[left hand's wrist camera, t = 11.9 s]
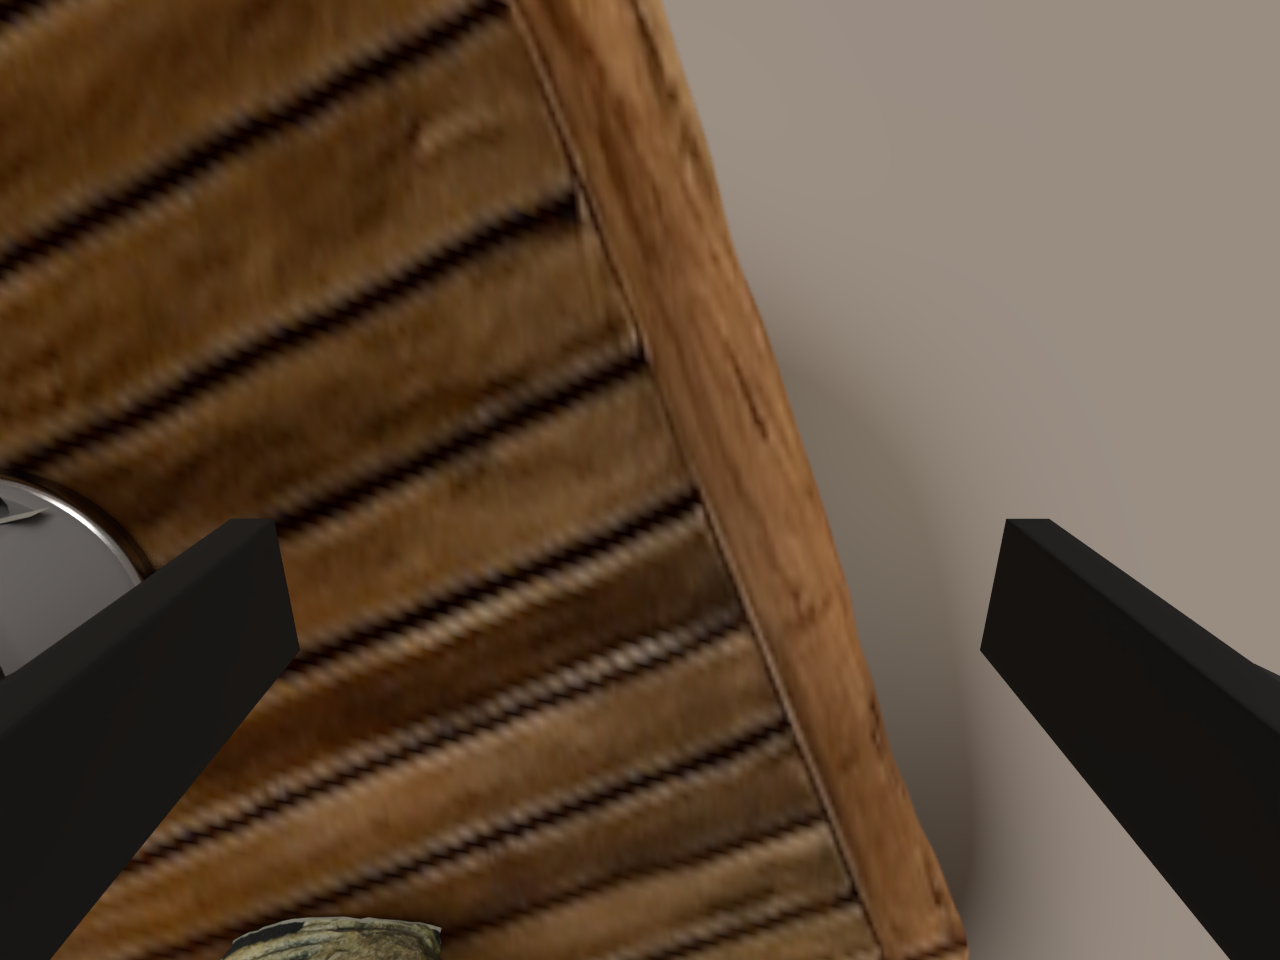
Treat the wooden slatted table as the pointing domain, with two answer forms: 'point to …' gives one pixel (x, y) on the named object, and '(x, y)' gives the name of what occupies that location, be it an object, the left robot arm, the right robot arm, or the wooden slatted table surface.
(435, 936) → the fossil
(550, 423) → the wooden slatted table surface
